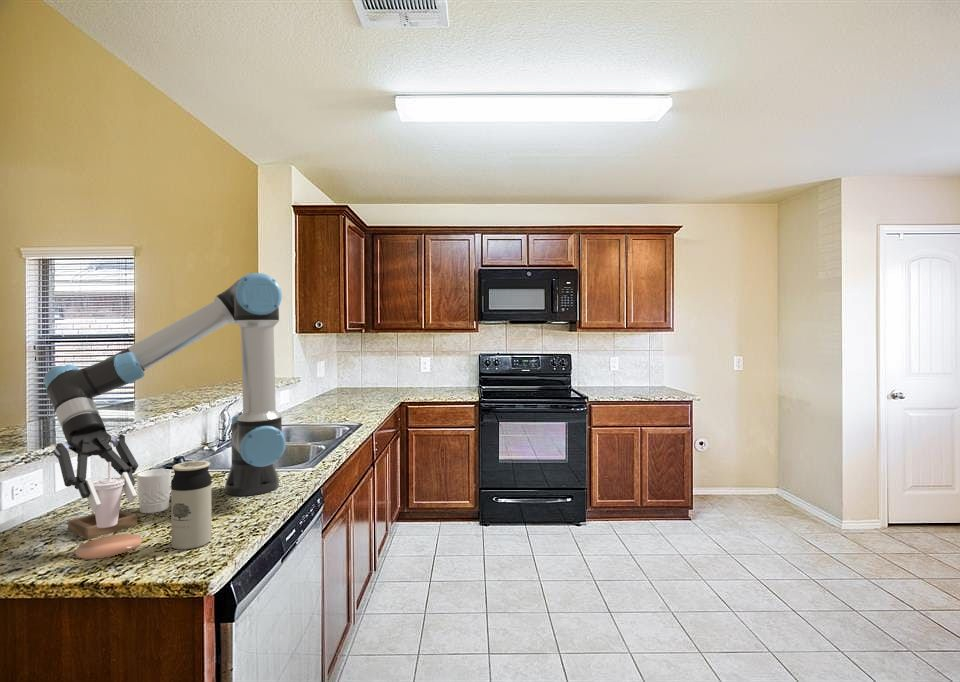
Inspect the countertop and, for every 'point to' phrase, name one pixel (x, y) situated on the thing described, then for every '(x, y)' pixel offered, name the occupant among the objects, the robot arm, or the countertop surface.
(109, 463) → the smoothie
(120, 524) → the brown square wooden frame
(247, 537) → the countertop surface
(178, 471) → the travel mug
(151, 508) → the white cup
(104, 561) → the countertop surface
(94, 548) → the coaster
